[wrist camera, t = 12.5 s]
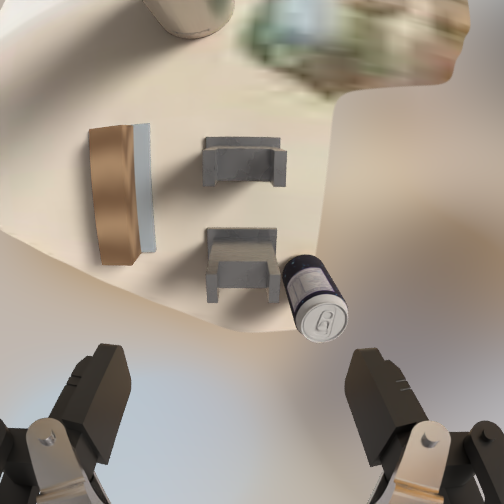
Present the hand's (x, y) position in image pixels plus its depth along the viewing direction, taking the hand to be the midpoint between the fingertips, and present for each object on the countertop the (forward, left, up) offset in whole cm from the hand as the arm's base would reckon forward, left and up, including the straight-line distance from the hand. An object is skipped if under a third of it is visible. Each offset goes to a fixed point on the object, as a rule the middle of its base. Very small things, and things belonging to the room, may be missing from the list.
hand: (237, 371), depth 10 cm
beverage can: (+10, +8, -29) cm, 32 cm away
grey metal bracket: (-5, 0, -29) cm, 29 cm away
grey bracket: (+6, 0, -29) cm, 29 cm away
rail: (-1, -14, -28) cm, 31 cm away
